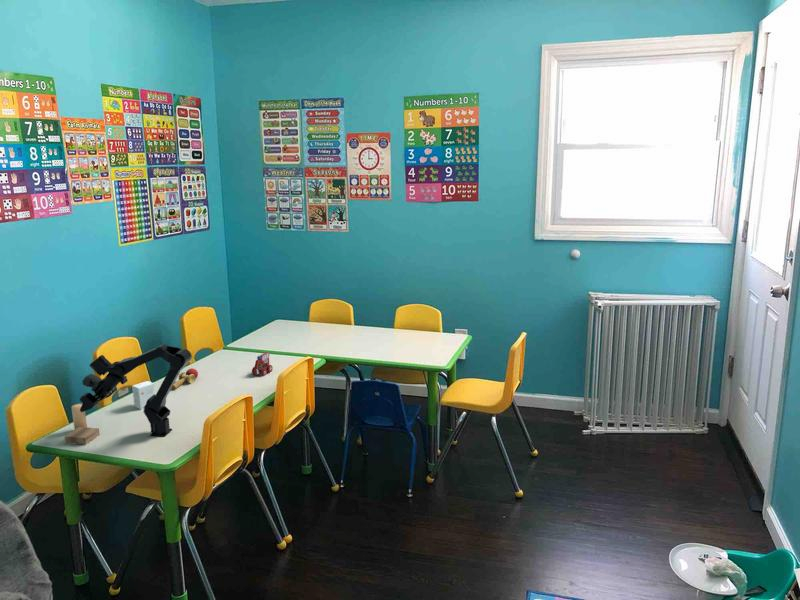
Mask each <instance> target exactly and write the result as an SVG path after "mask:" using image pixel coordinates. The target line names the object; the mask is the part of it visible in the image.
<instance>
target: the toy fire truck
mask: <svg viewBox="0 0 800 600" xmlns="http://www.w3.org/2000/svg"><path fill="white" fill-rule="evenodd" d="M272 371H273V365H272V364H270V352H269V351H265V352H263V353H262V354H260V355H258V356H257V358H256V360H255V364H254V366H253V367H252V368H251V374H252V375H255V374H256V375H261V376H263V377H265V376H267V373H269V374H270V372H272Z"/></svg>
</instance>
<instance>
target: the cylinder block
mask: <svg viewBox="0 0 800 600" xmlns="http://www.w3.org/2000/svg"><path fill="white" fill-rule="evenodd" d="M81 406H82V403H76V404H73V405H71V413H72V421H73V428H74V429H73V430H75V429H77V428H78V427H86V428H88V422H87V417H86V415H87V414H86V411H84V412H81V411H80V408H81Z"/></svg>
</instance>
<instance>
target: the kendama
mask: <svg viewBox="0 0 800 600" xmlns="http://www.w3.org/2000/svg"><path fill="white" fill-rule="evenodd" d="M198 377H199V371H198V370H197V369H196V368H192V367H191V368H189V369H187V370H186V372H184V371H180V373H179V375H178V380H177V381H175V382H174V384H173V386H172V388H171V390H172V391H176V390H177V389H178V388H179V387H180V386H181V385H183V384H184V382H186V381H187V384H193V383H194V382H196V381H195V380H196V379H197V378H198Z"/></svg>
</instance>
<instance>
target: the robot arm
mask: <svg viewBox="0 0 800 600" xmlns="http://www.w3.org/2000/svg"><path fill="white" fill-rule="evenodd" d="M192 357H193V355H192V353H191V352H190V350H188V349H186V348H180V347H177V346H171V345H167V344H160V345H159V346H157V347H155V348H152V349H150V350H148V351H146V352H143V353H141V354H139V355H137V356H131V357H127V358H123V359H122V360H119V361H114V362H110V361H109V359H107V358H106V357H105V355H104V354H101V355H99V356H98V357H97V358H95V360H93V361H92V362H90V364H89V365H88V366H89V367H90V369H91V370H92V371H94V372H95V373H96V374H97V375H98V376H97V375H95V374H93V373H90V374H89V373H88V375H86V376H85V377H84V378H83V380H82V382H81V383H82V386H84V387H86V388H91V389H90V390H91V391H92V392H94V395H93V394H92V393H91V392H85V393H84V394H83V395H81V396H80V398H79V401H80V402H81V404H82V406H81V408H80V411H81V412H84V411H85V412H87V411H88V410H89V411H90V410H92V409H94V408H95V407H97V405H98V404H99V402H100V401H103V400H105V399H107V398H110V397H111V396H112V395H113V394H115V393H116V392H117V391H118V385H119V384H121V385H125V383H127V382H129V381H128V378H127V377H128V376H127V375H128V374H129V373H131V372H132V371H133V370H135V369H136V368H137V367H139V366H142V365H144V364H146V363H148V362H151V361H153V360H155V359H158V358H162V359H163V360H164V361H166V362H167V363H168V364H169V369H168V371H167V373H166V375H165V377H164V379H163V381H162V382H161V385H160V386H159V388H158V390H157V391H156V393H155V394H154V395H153V396H151V397H150V398H149V399H148V400H147V402H146V405H145V406H144V407H143V408H144V409H143V413H144V415H145V417H146V419H147V421H148V422H149V424H150V432H151V433H150V434H149V435H150V436H151V437H166V436H167V435H169V434H170V433H171V431H172V430H173V429H172V428H170V427H171V426H170V418H169V416H170V415H171V410H170V409H169V408H168V407H167V406H166V404H167V403H166V402H167V398H168V395H169V394H170V392H171V390H172V389H171V388H172V386H173V384H174V383H176V382H177V381H176V380H177V378H179V374H180V373H181V372H182V370H183V369H184V368H185V367H186V366H187V365H188V364H189V363H190V361H192ZM99 376H104V378H100V377H99Z"/></svg>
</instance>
